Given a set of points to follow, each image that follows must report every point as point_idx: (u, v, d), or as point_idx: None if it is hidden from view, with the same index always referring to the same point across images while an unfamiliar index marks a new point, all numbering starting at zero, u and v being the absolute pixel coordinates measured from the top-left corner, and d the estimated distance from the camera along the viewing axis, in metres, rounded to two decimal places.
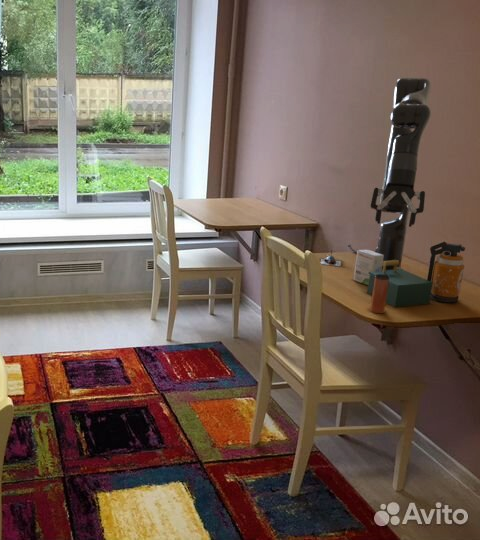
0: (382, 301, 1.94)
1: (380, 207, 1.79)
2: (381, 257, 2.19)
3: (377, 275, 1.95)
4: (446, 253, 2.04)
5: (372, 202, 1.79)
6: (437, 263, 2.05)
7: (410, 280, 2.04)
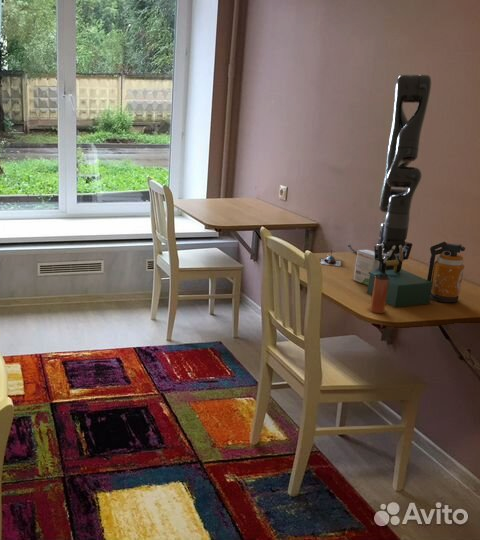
0: (382, 301, 1.94)
1: (385, 260, 2.09)
2: None
3: (377, 275, 1.95)
4: (446, 253, 2.04)
5: (380, 258, 2.08)
6: (437, 263, 2.05)
7: (410, 280, 2.04)
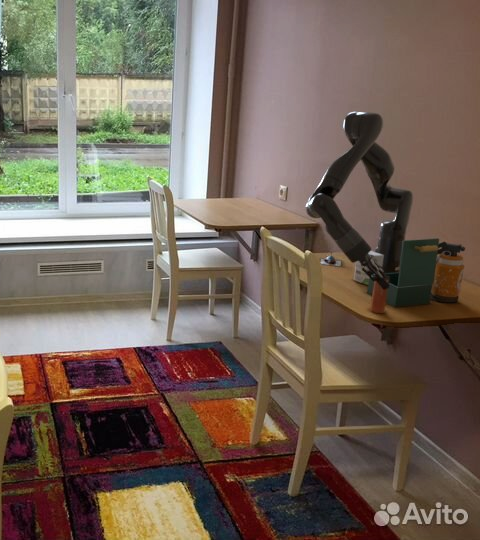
0: (382, 301, 1.94)
1: None
2: (381, 257, 2.19)
3: None
4: (446, 253, 2.04)
5: None
6: (437, 263, 2.05)
7: (419, 275, 2.00)
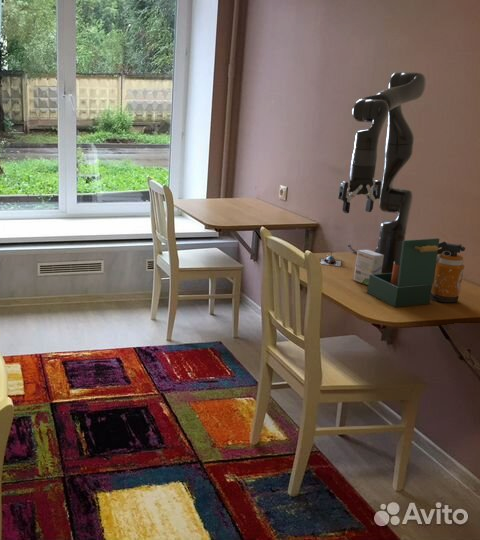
0: None
1: (349, 199, 1.97)
2: (381, 257, 2.19)
3: (395, 261, 2.07)
4: (446, 253, 2.04)
5: (343, 196, 1.96)
6: (437, 263, 2.05)
7: (419, 275, 2.00)
